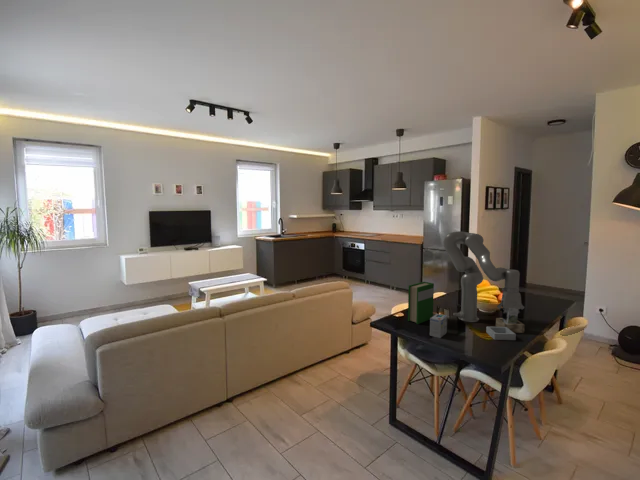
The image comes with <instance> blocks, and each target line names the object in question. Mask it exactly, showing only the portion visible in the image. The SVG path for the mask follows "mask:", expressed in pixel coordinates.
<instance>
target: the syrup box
mask: <svg viewBox="0 0 640 480" xmlns="http://www.w3.org/2000/svg"><path fill="white" fill-rule="evenodd" d="M517 318H519V315H518V309H515V308H509V309H507V310H506V320H505V319H503V322H504V323H506V324H517Z"/></svg>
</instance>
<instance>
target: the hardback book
mask: <svg viewBox="0 0 640 480" xmlns="http://www.w3.org/2000/svg"><path fill="white" fill-rule="evenodd" d="M434 287H435V284H434V283H433V282H427V281H422V282H418V283H414V284H410V285H408V295H407V297H408V299H407V300H408V301H407V305H408V306H407V307H408V308H407V322H408V321H410V322H414V323H416V325H419V324H422V323H425V322H427V321H430V318H431V317H433V316H434V292H435V291H434Z"/></svg>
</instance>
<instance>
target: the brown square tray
mask: <svg viewBox="0 0 640 480" xmlns="http://www.w3.org/2000/svg"><path fill="white" fill-rule="evenodd" d="M525 326H526V325H525V324H524V323H523V322H522V321H520V320H519V319H518V320H517V324H506V323H504V322H503V317H496V318H495V327H507V328H508V329H510V330H511V331H512V332H514V333H515V334H524V333H525Z"/></svg>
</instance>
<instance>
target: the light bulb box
mask: <svg viewBox="0 0 640 480" xmlns="http://www.w3.org/2000/svg"><path fill="white" fill-rule="evenodd" d="M447 331H448V315H447V314H440V313H435V314H433V317H431V318H430V320H429V336H431V337H435V338H437V339H441V338H442V337H444V336H445V335H446V334H447Z"/></svg>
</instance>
